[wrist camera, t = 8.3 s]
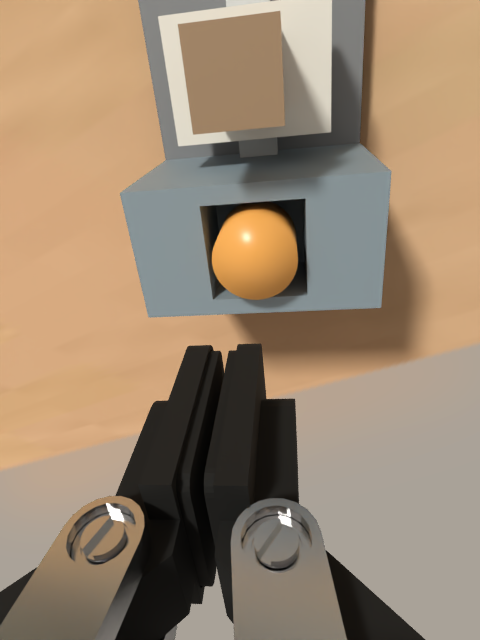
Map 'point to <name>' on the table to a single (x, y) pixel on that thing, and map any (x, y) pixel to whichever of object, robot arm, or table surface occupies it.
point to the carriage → (249, 70)
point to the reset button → (256, 251)
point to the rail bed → (263, 193)
